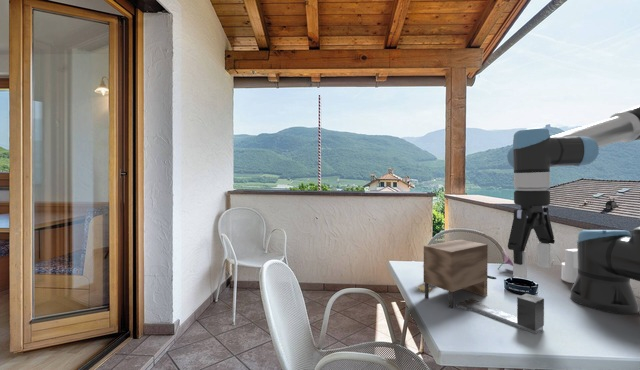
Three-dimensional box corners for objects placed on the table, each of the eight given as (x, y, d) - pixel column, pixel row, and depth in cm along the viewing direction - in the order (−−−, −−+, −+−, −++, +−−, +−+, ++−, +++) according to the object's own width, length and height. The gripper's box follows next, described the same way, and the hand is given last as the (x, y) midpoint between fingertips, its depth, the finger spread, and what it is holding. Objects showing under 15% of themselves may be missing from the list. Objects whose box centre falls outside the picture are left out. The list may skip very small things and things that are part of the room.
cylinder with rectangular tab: (581, 286, 105) (582, 253, 105) (555, 278, 114) (555, 248, 114) (598, 283, 108) (599, 251, 108) (571, 276, 117) (572, 246, 116)
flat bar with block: (546, 327, 75) (546, 297, 75) (532, 336, 71) (532, 304, 71) (471, 301, 92) (471, 276, 92) (456, 306, 88) (456, 280, 88)
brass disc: (433, 290, 102) (433, 287, 102) (427, 293, 99) (427, 290, 99) (422, 287, 105) (422, 284, 105) (416, 290, 102) (416, 286, 102)
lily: (509, 278, 117) (523, 259, 115) (483, 261, 126) (495, 242, 125) (519, 281, 124) (532, 263, 123) (493, 265, 133) (505, 247, 132)
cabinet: (487, 294, 97) (487, 244, 97) (451, 308, 87) (451, 252, 86) (459, 285, 106) (459, 239, 106) (423, 297, 95) (423, 245, 95)
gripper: (535, 188, 84) (537, 260, 85) (490, 191, 71) (492, 277, 71) (568, 188, 78) (569, 266, 78) (525, 191, 65) (526, 286, 65)
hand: (532, 272), depth 75 cm, fingers open, 13 cm apart
